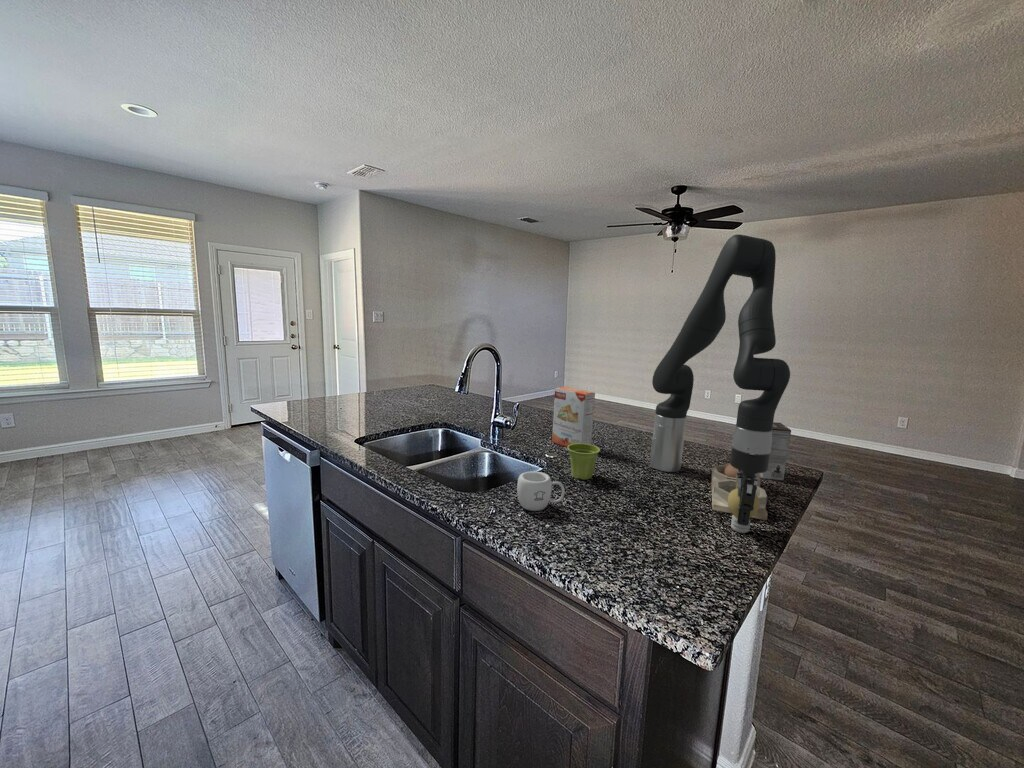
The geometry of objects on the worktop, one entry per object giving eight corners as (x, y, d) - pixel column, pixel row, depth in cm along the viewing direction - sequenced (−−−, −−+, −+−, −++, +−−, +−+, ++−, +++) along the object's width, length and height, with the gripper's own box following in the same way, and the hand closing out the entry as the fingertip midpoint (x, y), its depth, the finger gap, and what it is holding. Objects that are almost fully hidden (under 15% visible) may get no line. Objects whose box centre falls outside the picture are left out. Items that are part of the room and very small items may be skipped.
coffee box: (751, 468, 143) (758, 420, 140) (773, 470, 142) (780, 422, 139) (761, 478, 134) (769, 427, 131) (784, 481, 133) (792, 429, 130)
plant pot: (576, 484, 124) (578, 454, 122) (559, 472, 132) (561, 444, 131) (604, 480, 127) (606, 451, 126) (586, 468, 136) (587, 442, 134)
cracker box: (550, 442, 161) (554, 387, 158) (561, 440, 166) (565, 385, 162) (580, 452, 151) (585, 393, 148) (591, 449, 155) (595, 391, 152)
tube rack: (712, 509, 111) (714, 493, 110) (711, 476, 134) (712, 462, 133) (766, 520, 106) (769, 502, 105) (755, 483, 129) (757, 469, 129)
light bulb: (718, 523, 103) (723, 483, 101) (744, 523, 104) (749, 483, 102) (734, 537, 97) (740, 495, 95) (761, 537, 97) (767, 495, 96)
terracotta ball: (723, 483, 124) (726, 463, 123) (722, 477, 130) (725, 457, 129) (747, 488, 122) (750, 467, 121) (745, 480, 127) (748, 461, 126)
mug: (519, 514, 104) (520, 483, 102) (513, 499, 112) (515, 470, 111) (568, 513, 105) (570, 482, 104) (559, 498, 114) (561, 469, 112)
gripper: (730, 437, 105) (722, 502, 108) (734, 453, 92) (724, 527, 95) (766, 441, 102) (756, 508, 105) (775, 459, 89) (764, 536, 92)
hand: (741, 517), depth 100 cm, fingers closed on light bulb, 6 cm apart
